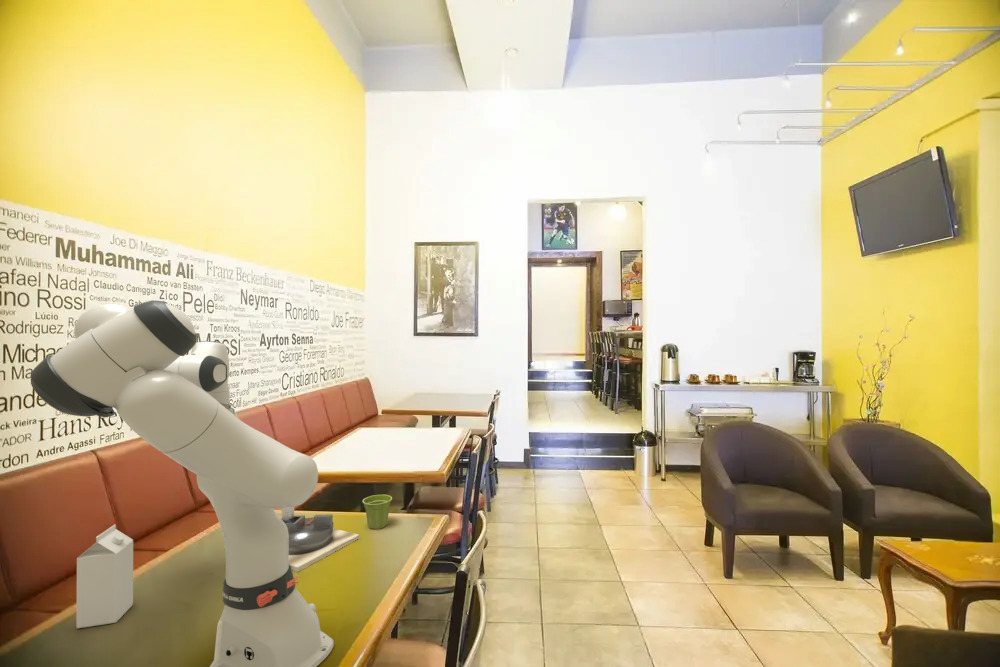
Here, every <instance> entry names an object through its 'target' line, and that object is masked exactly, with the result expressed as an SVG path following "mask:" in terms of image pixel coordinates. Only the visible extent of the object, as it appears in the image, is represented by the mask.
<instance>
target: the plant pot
mask: <svg viewBox="0 0 1000 667" xmlns="http://www.w3.org/2000/svg"><path fill="white" fill-rule="evenodd" d="M392 500H393V497H392V496H391V495H388V494H375V495H370V496H367V497H365V498H363V499H362V504H363V506H364V508H365V514H366V515H365V516H366V521H367V528H369V529H373V530H379V529H383V528H384V527H386V526H387V525H388V521H389V520H388V519H389V512H390V505H391V502H392Z"/></svg>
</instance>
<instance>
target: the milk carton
mask: <svg viewBox="0 0 1000 667" xmlns="http://www.w3.org/2000/svg"><path fill="white" fill-rule="evenodd" d="M132 606H134V539H133V538H131V537H130V536H128V535H126V534H124V533H123V532H121V531H120V530H118V529H117V524H115V523H114V524H113V525H112V526H110V527H109V528H107V529H106V530H104V531H103V532H102V533H100V534H98V535H97V536H95V542H94V543H93V544H91V546H89V548H87V549H86V550H85V551H84V552H82V553H81V554H80V555H78V557H77V558H76V616H75V617H76V621H75V622H76V624H75V625H76V626H75V627H76V629H81V628H82V629H83V628H90V627H95V626H103V625H109V624H115V623H117V622H118V621H119V620H121V618H122V617H123V615H125V614H126V613H127V612H128V611H129V610H130V608H131V607H132Z"/></svg>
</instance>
